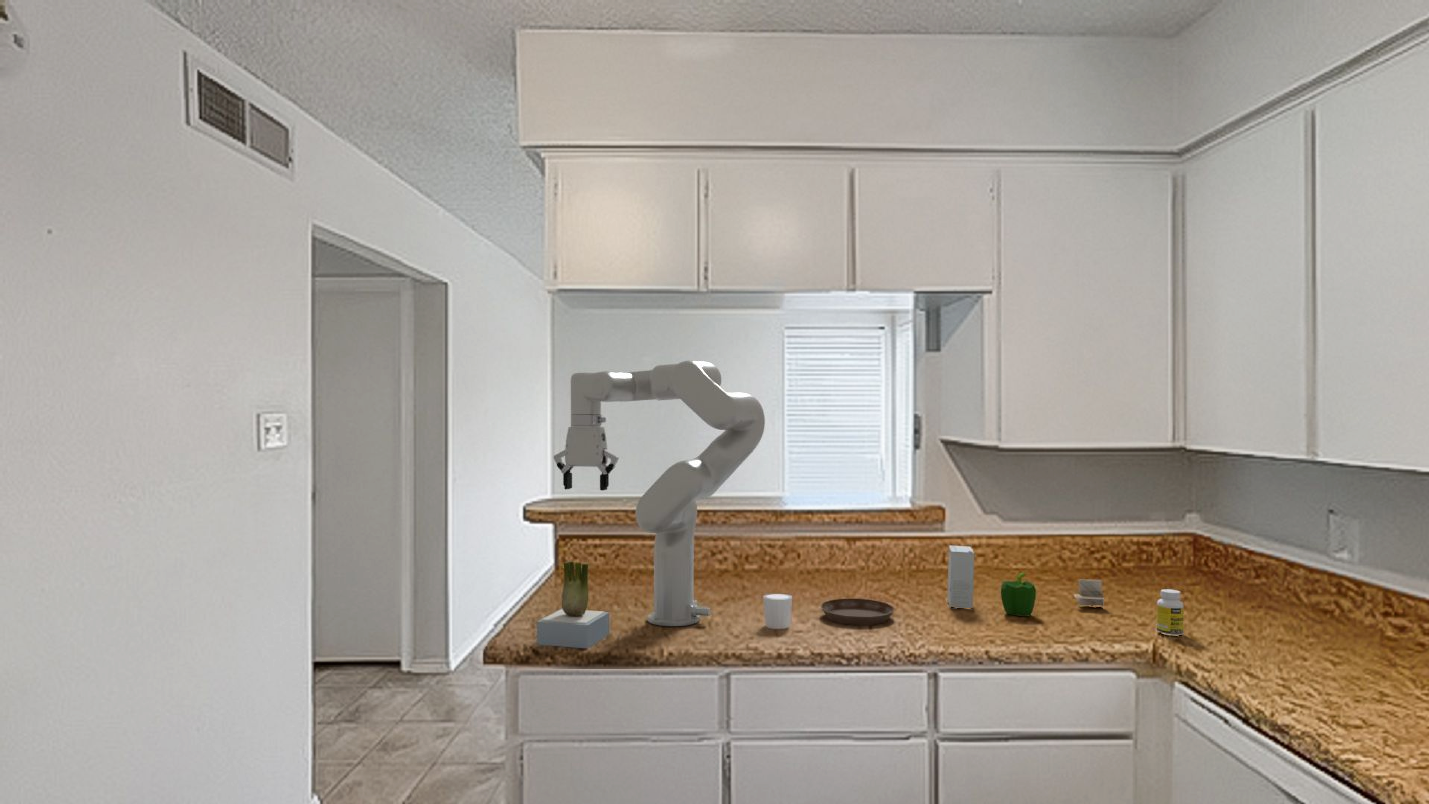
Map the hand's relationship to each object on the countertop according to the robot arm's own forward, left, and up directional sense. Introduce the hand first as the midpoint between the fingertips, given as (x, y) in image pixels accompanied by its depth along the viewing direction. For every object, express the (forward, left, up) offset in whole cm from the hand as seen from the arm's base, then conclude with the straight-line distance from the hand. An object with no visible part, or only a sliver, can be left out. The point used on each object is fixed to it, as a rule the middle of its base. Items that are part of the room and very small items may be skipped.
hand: (585, 489), depth 231 cm
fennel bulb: (-9, +27, -25) cm, 38 cm away
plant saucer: (-67, -10, -31) cm, 74 cm away
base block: (-9, +27, -30) cm, 42 cm away
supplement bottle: (-137, -14, -31) cm, 141 cm away
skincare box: (-91, -30, -31) cm, 101 cm away
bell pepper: (-105, -24, -31) cm, 112 cm away
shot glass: (-50, +3, -31) cm, 59 cm away
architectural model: (-123, -36, -31) cm, 132 cm away
